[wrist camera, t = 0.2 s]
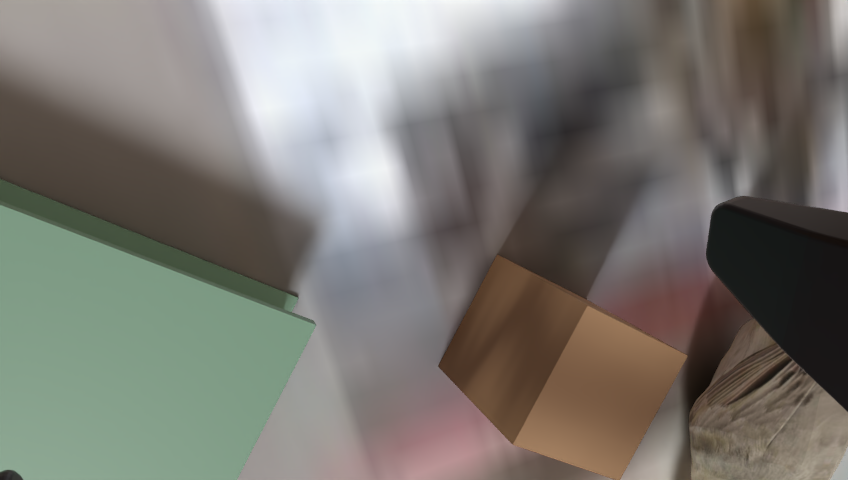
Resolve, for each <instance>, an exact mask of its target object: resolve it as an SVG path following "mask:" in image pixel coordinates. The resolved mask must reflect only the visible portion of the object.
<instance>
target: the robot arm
mask: <svg viewBox="0 0 848 480" xmlns="http://www.w3.org/2000/svg"><path fill="white" fill-rule="evenodd" d="M706 258H707V262H708V264H709V266H710V268H711V270H712V271H713V272H714V273H715V275H716V276H717V277H718V278H719V279H720V280H721V281H722V283H723V284H724V285H725V286H726V287H727V288H728V289H729V290H730V292H731V293H732V294H733V295H734V296H735V297H736V298H737V300H738V301H739V302H740V303H741V304H742V305H743V306H744V308H745V309H746V310H747V311H748V312H749V313H750V314H751V316H752V317H753V318H754V319H755V320H756V321H757V322H758V324H759V325H760V326H761V327H762V328H763V329H764V330H765V332H766V333H767V334H768V335H769V336H770V337H771V338H772V339H773V340H774V342H775V343H776V344H777V345H778V346H779V347H780V348H781V349H782V350H783V351H784V352H785V353H786V354H787V355H788V356H789V357H790V358H791V359H792V360H793V361H794V362H795V363H796V364H797V365H798V366H799V367H800V368H801V369H802V370H804V371H805V372H806V373H807V374H808V375H809V376H810V377H811V378H812V379H813V380H814V381H815V382H816V383H817V384H818V385H819V386H820V387H822V388H823V389H824V390H825V391H826V392H827V393H828V394H829V395H830V396H831V397H832V398H833V399H834V400H835V401H836V402H837V403H838V404H840V405H841V406H842V407H843V408H844V409H845V410H846V411H847V412H848V213H847V212H841V211H835V210H828V209H822V208H816V207H810V206H804V205H797V204H791V203H785V202H779V201H773V200H766V199H760V198H754V197H748V196H740V197H736V198H733V199H731V200H728V201H725V202H723V203H720V204H718V205H717V206H716V207H715V208H714V210H713V212H712V215H711V221H710V228H709V235H708V242H707V249H706ZM0 480H23V478H22V477H21V476H20V474H18V473H17V472H16V471H14V470H4V471H1V472H0Z"/></svg>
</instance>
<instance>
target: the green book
mask: <svg viewBox="0 0 848 480" xmlns="http://www.w3.org/2000/svg"><path fill="white" fill-rule="evenodd" d="M297 300H298V297H296V296H294V295H291V294H289V293H286V292H284V291H281V290H279V289H276V288H274V287H271V286H269V285H266V284H264V283H261V282H259V281H256V280H253V279H251V278H248V277H246V276H243V275H241V274H238V273H236V272H233V271H231V270H228V269H226V268H223V267H221V266H218V265H216V264H213V263H211V262H208V261H206V260H203V259H201V258H198V257H196V256H193V255H191V254H188V253H186V252H183V251H180V250H178V249H175V248H173V247H170V246H168V245H165V244H163V243H160V242H158V241H155V240H153V239H150V238H148V237H145V236H143V235H140V234H138V233H135V232H133V231H130V230H128V229H125V228H123V227H120V226H118V225H115V224H113V223H110V222H107V221H105V220H102V219H100V218H97V217H95V216H92V215H90V214H87V213H85V212H82V211H80V210H77V209H75V208H72V207H70V206H67V205H65V204H62V203H60V202H57V201H55V200H52V199H50V198H47V197H45V196H42V195H40V194H37V193H35V192H32V191H29V190H27V189H24V188H22V187H19V186H17V185H14V184H12V183H9V182H7V181H4V180H2V179H0V472H1V471H4V470H14V471H16V472H17V473H18V474H20V476H21V477H22V478H23V480H237V478H238V477H239V475H240V473H241V471H242V469H243V467H244V465H245V463H246V461H247V459H248V457H249V455H250V453H251V451H252V449H253V447H254V445H255V443H256V441H257V440H258V438H259V436H260V434H261V432H262V430H263V428H264V426H265V424H266V422H267V420H268V418H269V416H270V414H271V412H272V410H273V408H274V406H275V405H276V403H277V401H278V399H279V397H280V395H281V393H282V391H283V389H284V387H285V385H286V383H287V381H288V379H289V377H290V375H291V373H292V371H293V370H294V368H295V366H296V364H297V362H298V360H299V358H300V356H301V354H302V352H303V350H304V348H305V346H306V344H307V342H308V340H309V338H310V336H311V334H312V333H313V331H314V329H315V327H316V324H315V322H314V321H313V320H310V319H308V318H305V317H303V316H300V315H297V314H295V313H292V310H293V308H294V306H295V304H296V302H297Z"/></svg>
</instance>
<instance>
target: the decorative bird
mask: <svg viewBox="0 0 848 480" xmlns="http://www.w3.org/2000/svg"><path fill="white" fill-rule="evenodd" d="M689 431H690V443H691V457H692V464H691V480H830V479H831V477H832V475H833V474H834V472H835V470H836V469H837V467H838V465H839V463H840V461H841V459H842V458H843V456H844V453H845V451H846V448H847V446H848V412H847V411H846V410H845V409H844V408H843V407H842V406H841V405H840V404H838V403H837V402H836V401H835V400H834V399H833V398H832V397H831V396H830V395H829V394H828V393H827V392H826V391H825V390H824V389H823V388H822V387H820V386H819V385H818V384H817V383H816V382H815V381H814V380H813V379H812V378H811V377H810V376H809V375H808V374H807V373H806V372H805V371H804V370H802V369H801V368H800V367H799V366H798V365H797V364H796V363H795V362H794V361H793V360H792V359H791V358H790V357H789V356H788V355H787V354H786V353H785V352H784V351H783V350H782V349H781V348H780V347H779V346H778V345H777V344H776V343H775V342H774V340H773V339H772V338H771V337H770V336H769V335H768V334H767V333H766V332H765V330H764V329H763V328H762V327H761V326H760V325H759V324H758V322H757V321H756V320H755V319H754V318H753V319H751V320H749V321H748V322H746V323H745V324H744V325H743V326H742V327H741V328H740V330H739V331H738V333H737V334H736V336H735V338H734V340H733V342H732V345H731V347H730V349H729V350H728V352H727V353H726V355H725V356H724V357H723V359H722V360H721V362H720V364H719V366H718V368H717V370H716V372H715V374H714V376H713V379H712V381H711V383H710V386H709V387H708V388H707V389H706V390H705V391H704V392H703V393H702V395H701V396H700V397H699V398H698V399H697V400H696V401H695V403H694V405H693V407H692V409H691V410H690V416H689Z"/></svg>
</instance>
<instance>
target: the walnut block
mask: <svg viewBox="0 0 848 480" xmlns="http://www.w3.org/2000/svg"><path fill="white" fill-rule="evenodd" d="M686 358H687V355H686V354H684V353H682V352H680V351H678V350H677V349H675V348H673V347H671V346H669V345H668V344H666V343H664V342H662V341H660V340H659V339H657V338H655V337H653V336H651V335H650V334H648V333H646V332H644V331H642V330H641V329H639V328H637V327H635V326H633V325H632V324H630V323H628V322H626V321H624V320H623V319H621V318H619V317H617V316H615V315H614V314H612V313H610V312H608V311H606V310H604V309H603V308H601V307H599V306H597V305H595V304H594V303H592V302H590V301H588V300H586V299H584V298H583V297H581V296H579V295H577V294H575V293H573V292H571V291H569V290H567V289H565V288H563V287H561V286H559V285H557V284H555V283H553V282H551V281H549V280H547V279H545V278H543V277H541V276H539V275H537V274H535V273H533V272H531V271H529V270H527V269H525V268H523V267H521V266H519V265H517V264H515V263H513V262H511V261H509V260H507V259H505V258H503V257H501V256H499V255H497V256H496V258H495V260H494V261H493V263H492V265H491V267H490V269H489V271H488V273H487V275H486V277H485V278H484V280H483V282H482V284H481V286H480V288H479V290H478V292H477V294H476V296H475V297H474V299H473V301H472V303H471V305H470V307H469V309H468V311H467V313H466V315H465V316H464V318H463V320H462V322H461V324H460V326H459V328H458V330H457V332H456V334H455V335H454V337H453V339H452V341H451V343H450V345H449V347H448V349H447V351H446V352H445V354H444V356H443V358H442V360H441V362H440V364H439V366H438V367H439V368H440V369H441V370H442V371H443V372H444V373H445V374H446V375H447V376H448V377H449V378H450V379H451V380H452V381H453V382H454V384H455V385H456V386H457V387H458V388H459V389H460V390H461V391H462V392H463V393H464V394H465V395H466V396H467V397H468V398H469V399H470V400H471V401H472V402H473V403H474V404H475V406H476V407H477V408H478V409H479V410H480V411H481V412H482V413H483V414H484V415H485V416H486V417H487V418H488V419H489V420H490V421H491V422H492V423H493V424H494V425H495V427H496V428H497V429H498V430H499V431H500V432H501V433H502V434H503V435H504V436H505V437H506V438H507V439H508V440H509V441H510V442H511V443H512V444H513V445H515V446H518V447H521V448H524V449H527V450H530V451H533V452H536V453H539V454H541V455H544V456H547V457H550V458H553V459H556V460H559V461H562V462H565V463H568V464H571V465H574V466H577V467H580V468H582V469H585V470H588V471H591V472H594V473H597V474H600V475H603V476H606V477H609V478H612V479H615V480H620V479H621V477H622V475H623V473H624V471H625V469H626V468H627V466H628V464H629V462H630V460H631V459H632V457H633V455H634V453H635V451H636V449H637V448H638V446H639V444H640V442H641V440H642V438H643V437H644V435H645V433H646V431H647V429H648V428H649V426H650V424H651V422H652V420H653V418H654V417H655V415H656V413H657V411H658V409H659V407H660V406H661V404H662V402H663V400H664V398H665V397H666V395H667V393H668V391H669V389H670V387H671V386H672V384H673V382H674V380H675V378H676V377H677V375H678V373H679V371H680V369H681V367H682V366H683V364H684V362H685V360H686Z"/></svg>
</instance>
